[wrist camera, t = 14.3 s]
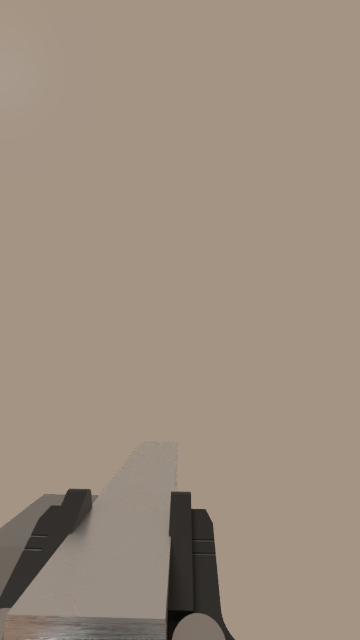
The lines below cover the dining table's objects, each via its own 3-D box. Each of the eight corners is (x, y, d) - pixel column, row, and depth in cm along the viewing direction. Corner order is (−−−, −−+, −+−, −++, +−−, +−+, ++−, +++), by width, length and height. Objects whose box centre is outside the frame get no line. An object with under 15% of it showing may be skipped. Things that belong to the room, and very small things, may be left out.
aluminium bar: (159, 833, 5) (165, 619, 6) (-20, 827, 5) (6, 614, 6) (176, 482, 25) (177, 442, 25) (139, 481, 25) (140, 441, 25)
